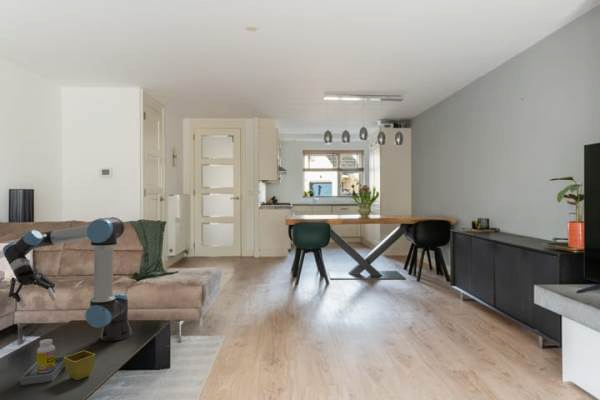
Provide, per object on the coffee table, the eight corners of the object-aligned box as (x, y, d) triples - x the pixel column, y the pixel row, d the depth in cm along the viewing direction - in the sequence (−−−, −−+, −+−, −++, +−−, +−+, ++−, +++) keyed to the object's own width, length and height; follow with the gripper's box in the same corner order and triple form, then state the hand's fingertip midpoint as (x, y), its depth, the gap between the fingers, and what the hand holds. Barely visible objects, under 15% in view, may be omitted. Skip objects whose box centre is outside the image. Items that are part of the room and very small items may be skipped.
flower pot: (74, 384, 158) (74, 361, 158) (63, 379, 162) (62, 357, 162) (96, 375, 165) (95, 354, 165) (84, 370, 170) (84, 350, 170)
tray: (68, 361, 180) (68, 355, 180) (52, 381, 160) (52, 374, 160) (39, 364, 177) (39, 358, 177) (20, 385, 157) (20, 378, 157)
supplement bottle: (46, 374, 165) (46, 344, 165) (33, 373, 166) (32, 343, 166) (59, 367, 172) (58, 338, 171) (46, 366, 173) (45, 337, 173)
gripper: (45, 269, 208) (62, 301, 201) (-10, 279, 187) (7, 314, 179) (50, 260, 206) (68, 291, 199) (-5, 268, 184) (13, 304, 177)
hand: (39, 302), depth 189 cm, fingers open, 13 cm apart
